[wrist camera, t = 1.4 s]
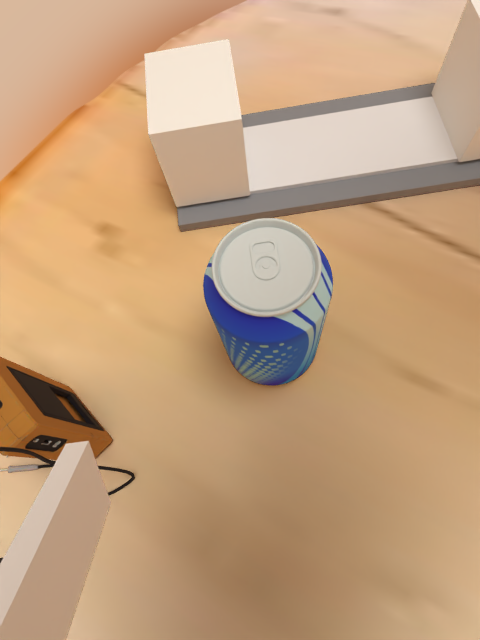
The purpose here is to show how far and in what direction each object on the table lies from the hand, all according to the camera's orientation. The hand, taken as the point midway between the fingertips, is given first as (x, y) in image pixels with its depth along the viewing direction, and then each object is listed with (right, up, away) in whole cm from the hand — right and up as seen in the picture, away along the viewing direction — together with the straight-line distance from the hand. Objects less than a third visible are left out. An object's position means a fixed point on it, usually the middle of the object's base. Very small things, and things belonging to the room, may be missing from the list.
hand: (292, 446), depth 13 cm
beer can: (+1, +2, +26) cm, 26 cm away
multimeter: (-19, -8, +24) cm, 32 cm away
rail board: (+10, +23, +33) cm, 42 cm away
